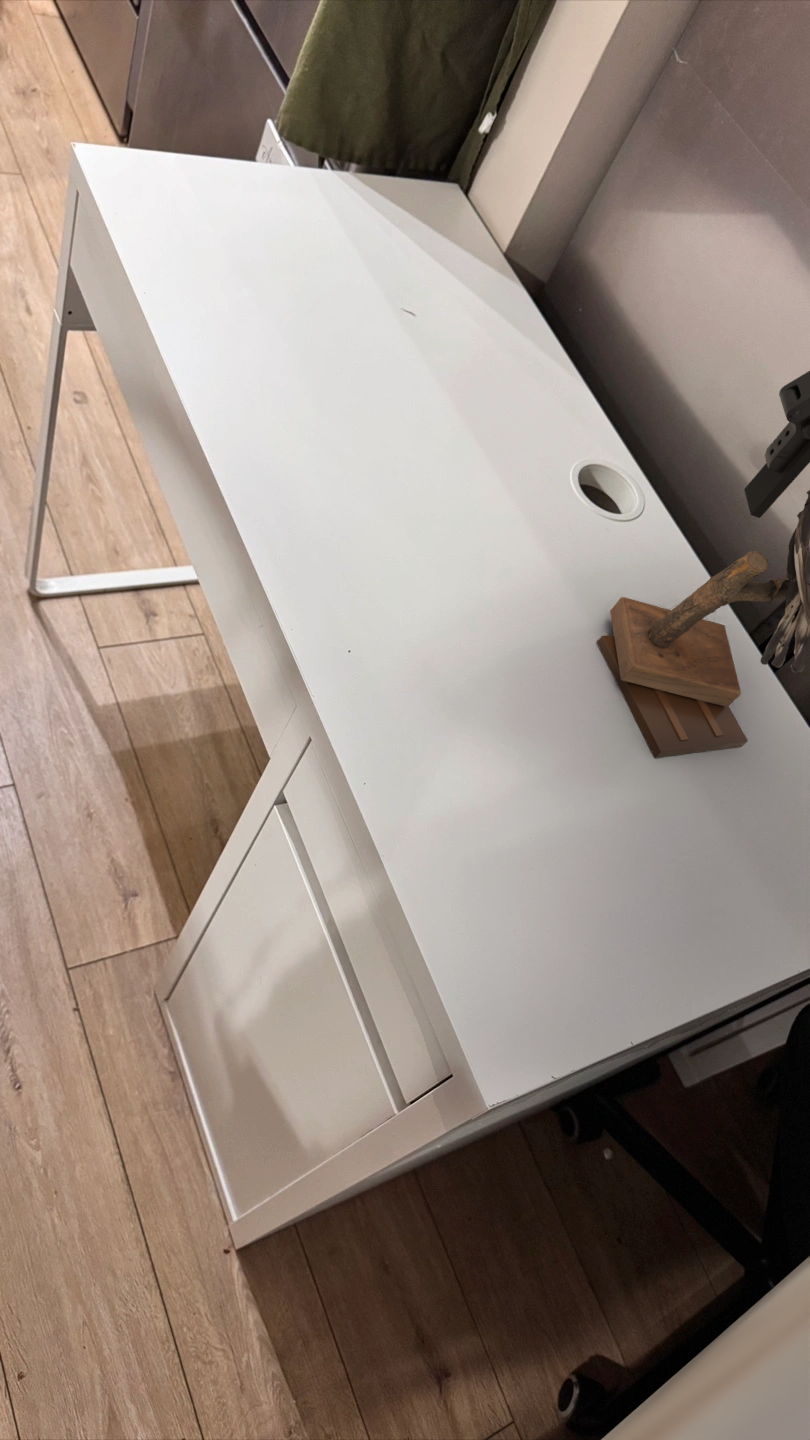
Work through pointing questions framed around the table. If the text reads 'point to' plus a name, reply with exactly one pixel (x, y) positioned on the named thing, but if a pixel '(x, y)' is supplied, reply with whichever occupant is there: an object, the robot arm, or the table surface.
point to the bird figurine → (714, 627)
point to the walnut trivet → (674, 716)
